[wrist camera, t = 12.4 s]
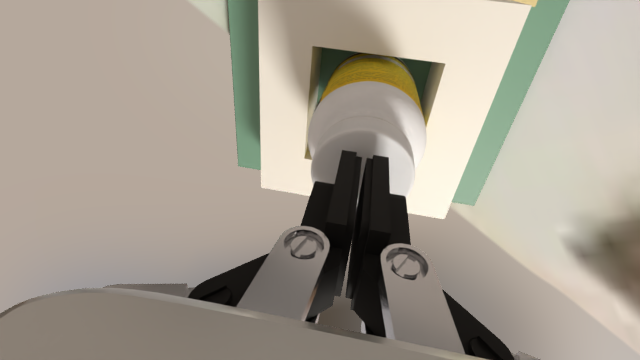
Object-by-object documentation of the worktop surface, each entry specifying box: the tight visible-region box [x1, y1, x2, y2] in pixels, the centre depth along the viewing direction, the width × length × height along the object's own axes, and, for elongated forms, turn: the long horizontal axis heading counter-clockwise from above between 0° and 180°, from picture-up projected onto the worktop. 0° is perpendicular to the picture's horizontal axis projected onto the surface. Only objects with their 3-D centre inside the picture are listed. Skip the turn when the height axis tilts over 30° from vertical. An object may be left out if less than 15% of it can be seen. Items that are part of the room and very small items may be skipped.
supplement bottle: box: [308, 52, 427, 209], centre depth 16 cm, size 5×5×10 cm
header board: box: [228, 0, 570, 219], centre depth 19 cm, size 18×14×4 cm
